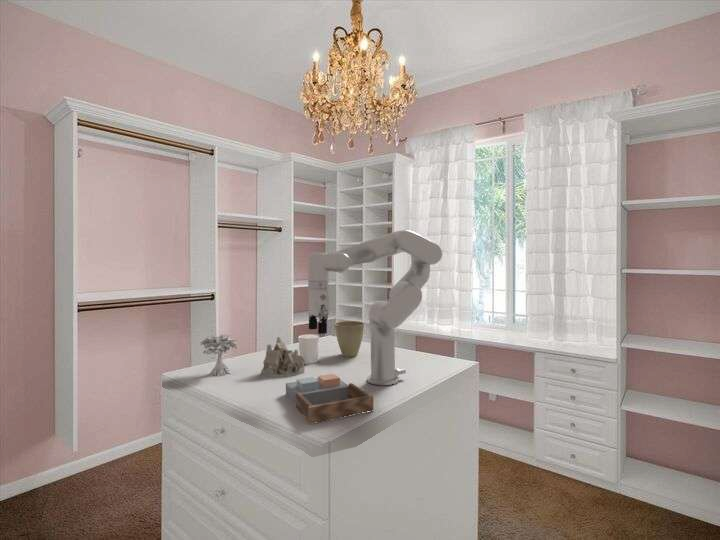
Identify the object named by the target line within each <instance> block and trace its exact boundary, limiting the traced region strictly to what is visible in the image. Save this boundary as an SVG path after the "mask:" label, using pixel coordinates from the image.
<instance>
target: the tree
mask: <svg viewBox="0 0 720 540" xmlns="http://www.w3.org/2000/svg"><path fill="white" fill-rule="evenodd" d="M231 336H232V334H227V333H225V334H220V335H219V336H213V335H208V336H207V337H206V338H205V339H204V340H202V341H200V342H199V343H200V345H201V346H202V345H203V348H204V350H203V352H202V353H203V354H206V355H210V354H214V355H217V359H216V363H215V366H214V367H213V369H212V370H211V371H210V373H209V376H210V377H213V376H214V377H216V376H217V377H220V376H225V375H231V372H230V371H231V370H230V369H229V368H228V365H226V364H225V362H223V358H222V356H223V354H227V352H228V351H229V350H230V349H238V347H237V345H238V343H237V340H236V339H232V338H231Z"/></svg>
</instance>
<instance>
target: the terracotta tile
mask: <svg viewBox="0 0 720 540" xmlns="http://www.w3.org/2000/svg"><path fill="white" fill-rule="evenodd" d="M317 378H318V381H319V384H320V385H322V386H323V387H331V386H337V385H340V380H341V378H340V377H339V376H338V375H337V374H335V373H329V374H328V373H327V374H322V375H318V376H317Z"/></svg>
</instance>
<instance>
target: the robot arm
mask: <svg viewBox="0 0 720 540" xmlns="http://www.w3.org/2000/svg"><path fill="white" fill-rule="evenodd" d="M400 253H406V254H409V255H410V259H411V261H410V263H411V265H410V268H409V270H408V271H407V272H406V273H405V274H404V275H403V276H402V277H401V278H400V279H399V280H398V281H397V282H396V283H395V284H394V285H393V286H392V287H391V289H390V291H389V296H388V297H389V299H390V300H389V301H385V300H377V301H375V302H374V303H372V305H371V306H370V307H369V310H368V320H369V327H370V375H368V376H367V378H366V381H367V383H369V384H370V385H375V386H393V385H396V384H398V383H399V382H400V377H399V376H400V375H405V374H406V372H407V371H406V368H402V369H401V368H399V367H398V368H396V336H395V334H396V333H395V329H396V328H398V327H399V326H401V325H402V324H404V322H405V321H406V320H407V319H408V318H409V317H410V316H411V315H412V313H414V312H415V311H416V310H417V308H418V307H419V306H420V304H421V302H422V300H423V292H422V289H423V287H424V286H425V285H426V284H427V282H428V281H429V278H430V275H431V266H432V265H436V264H438V263H439V262H440V261H441V260H442V257H443V250H442V248H441V247H440V245H438V244H437V243H436V242H434V241H432V240H431V239H428V238H426V237H424V236H422V235H420V234H419V233H416V232H415V231H412V230H409V229H403V230H397V231H394V232H390V233H386V234H385V235H381V236H379V237H375V238H372V239H369V240H366V241H363V242H360V243H359V244H354V245H352V246H350V247H346V248H343V249H341V250H337V251H333V252H331V253H326V252H310V253H309V254H308V262H307V263H308V264H307V265H308V268H307V269H308V270H307V271H308V273H307V274H308V275H307V276H308V277H307V281H308V282H307V286H308V287H307V290H309V293H308V306H307V307H308V329H309V330H317V332H318V335H321V334H327V333H328V318H329V316H330V298H329V274H330V273H329V272H332V273H339V274H340V273H345V272H347V271H348V270H349V269H350V267H353V266H355V265H360V264H366V263H368V264H369V263H373V262H377V261H380V260H383V259H386V258H389V257H391V256H394V255H398V254H400ZM392 384H393V385H392Z"/></svg>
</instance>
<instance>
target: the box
mask: <svg viewBox="0 0 720 540" xmlns="http://www.w3.org/2000/svg"><path fill="white" fill-rule="evenodd" d="M348 385H349V398H345V399H340V400H334V401H329V402H323V403H318V404H311V403H310V402H309V401H308V400H307V399H306V398H305V397H304V396H303V395H302V394H301V393H300V392H296V405H295V408H296V409H297V410H298V412H299V413H302V414H303V415H304V416H305V417H306V418H305V417H304V416H303V415H302V414H301V415H302V416H303V417H304V418H305V419H306V420H307V424H309V425H312V424H311V423H314V424H316V423H315V422H319V423H323V422H322V421H324V422H328V421H327V420H329V421H332V420H331V419H334V420H336V419H335V418H339V419H341V418H340V417H344V416H349V415H353V414H358V413H362V412H367V411H372V410H373V411H374V395H372V394H369V393H368V392H367V391H365V390H363V389H362V388H360V387H358V386H357V385H356V384H354V383H348ZM349 417H350V416H349ZM344 418H345V417H344Z"/></svg>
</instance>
